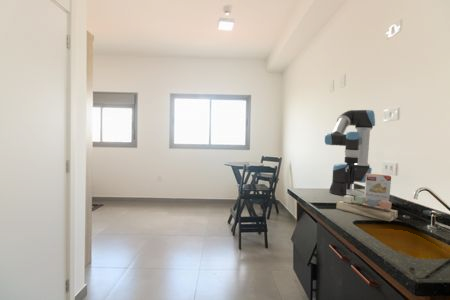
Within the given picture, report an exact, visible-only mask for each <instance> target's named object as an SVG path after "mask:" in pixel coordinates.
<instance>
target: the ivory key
mask: <svg viewBox="0 0 450 300" xmlns="http://www.w3.org/2000/svg"><path fill="white" fill-rule="evenodd" d="M354 201H355V196H354V195H353V196H352V195H343V202H347V203H348V204H350V203H353V202H354Z"/></svg>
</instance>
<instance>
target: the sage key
mask: <svg viewBox="0 0 450 300" xmlns="http://www.w3.org/2000/svg"><path fill="white" fill-rule="evenodd" d="M354 201H355V203H358V206H362V204H364V203H365V201H366V197H364V195H363V196H361V195H356V196H354Z"/></svg>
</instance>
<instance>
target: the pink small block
mask: <svg viewBox="0 0 450 300" xmlns="http://www.w3.org/2000/svg"><path fill="white" fill-rule="evenodd" d="M392 203H393V202H392V201H390V200H389V201H384V200H383V201H380V208H383V209H384V210H383V211H384V212H387V209H388V210H389V209H392Z"/></svg>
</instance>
